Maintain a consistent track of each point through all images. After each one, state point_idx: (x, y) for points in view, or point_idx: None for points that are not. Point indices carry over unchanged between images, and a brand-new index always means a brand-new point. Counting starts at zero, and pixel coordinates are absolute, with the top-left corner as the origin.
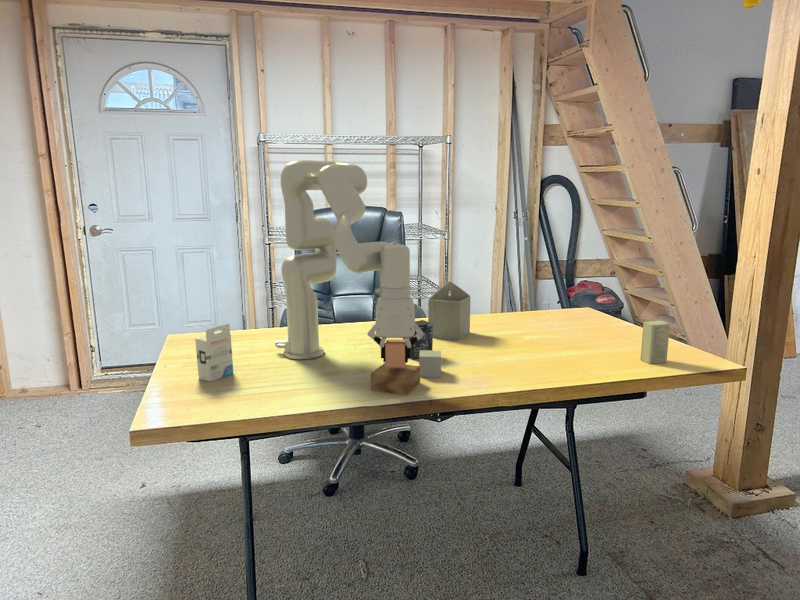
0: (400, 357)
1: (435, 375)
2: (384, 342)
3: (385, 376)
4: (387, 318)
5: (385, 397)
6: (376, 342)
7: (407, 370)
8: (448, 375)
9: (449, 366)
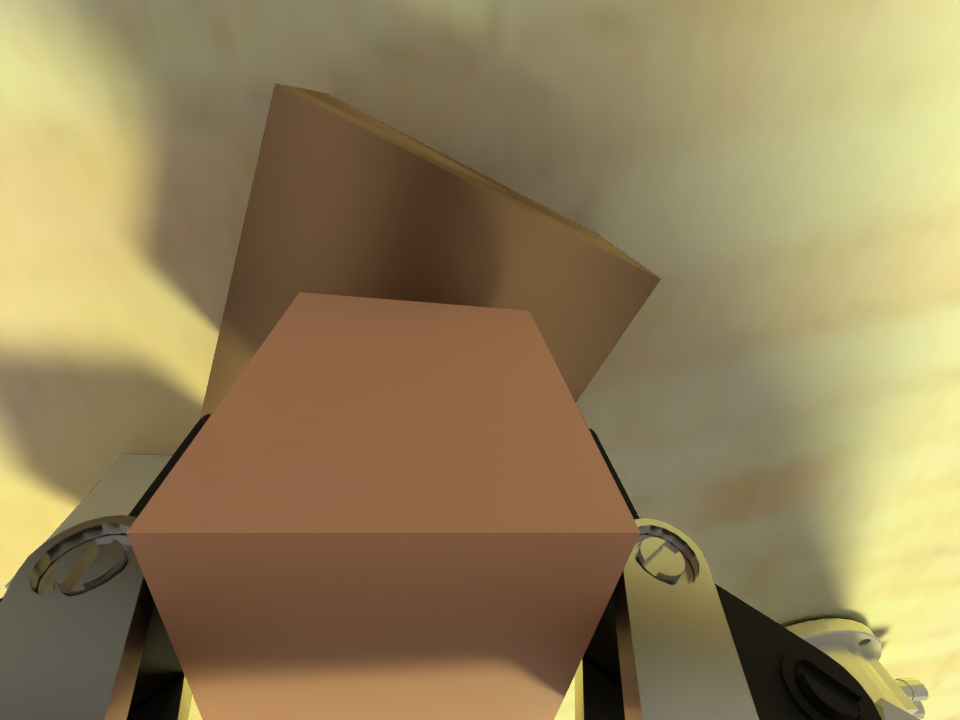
0: (330, 353)
1: (156, 463)
2: (639, 615)
3: (523, 207)
4: None
5: (508, 62)
6: (766, 621)
7: None
8: (79, 480)
9: None
